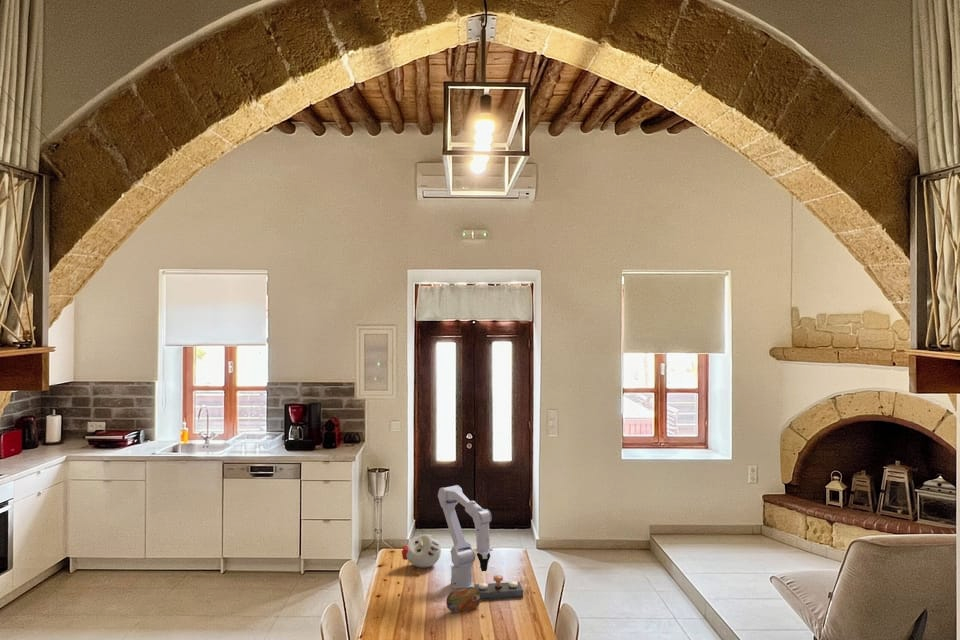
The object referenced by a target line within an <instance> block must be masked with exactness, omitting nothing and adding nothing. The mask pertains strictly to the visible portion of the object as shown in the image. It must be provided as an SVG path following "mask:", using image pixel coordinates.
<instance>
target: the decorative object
mask: <svg viewBox="0 0 960 640" xmlns="http://www.w3.org/2000/svg"><path fill="white" fill-rule="evenodd" d="M441 552H442V549H441V544H440V542H439V540H438V539H437V538H436V537H435V536H433V535H431V534H421V535H417V536H416V537H414V538H412V539H411V540H410V541H408V543H407V544H406V545H404V546H402V550H401V556H402V559H403V560H405V561H406V560H407V561H409V562H410V564H411V565H413V566H414V567H417V568H422V569H423V568H430V567H432V566H434V565H436V563H437V562H438V561H439V559H440V556H441Z"/></svg>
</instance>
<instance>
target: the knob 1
mask: <svg viewBox="0 0 960 640" xmlns="http://www.w3.org/2000/svg"><path fill="white" fill-rule="evenodd" d="M478 584H479V589H481V590H485V589H488V584H489V583H485V582H482V583H481V582H480V583H478Z"/></svg>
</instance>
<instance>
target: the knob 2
mask: <svg viewBox="0 0 960 640" xmlns="http://www.w3.org/2000/svg"><path fill="white" fill-rule="evenodd" d="M508 582H509V587H511V588H516V587H518V582H519V581H514V580H512V581H508Z"/></svg>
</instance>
